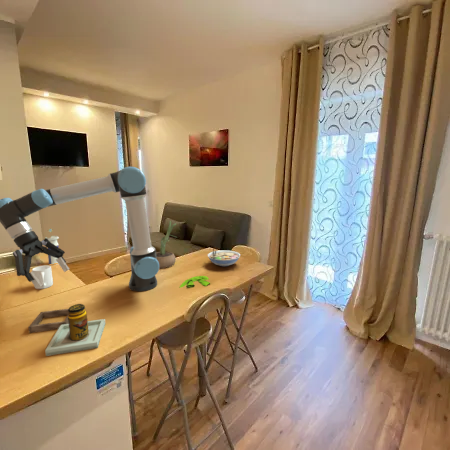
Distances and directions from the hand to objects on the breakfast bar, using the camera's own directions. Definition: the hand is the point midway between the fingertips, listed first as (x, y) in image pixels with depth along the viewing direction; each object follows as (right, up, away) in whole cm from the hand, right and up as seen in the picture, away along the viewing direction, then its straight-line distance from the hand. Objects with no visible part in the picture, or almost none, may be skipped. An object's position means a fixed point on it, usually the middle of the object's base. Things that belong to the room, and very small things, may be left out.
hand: (54, 278), depth 108 cm
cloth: (+55, -12, +40) cm, 69 cm away
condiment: (+16, -20, -11) cm, 28 cm away
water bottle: (-50, -5, +76) cm, 91 cm away
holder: (0, -18, 0) cm, 18 cm away
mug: (-29, -12, +35) cm, 47 cm away
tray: (+16, -20, -11) cm, 28 cm away
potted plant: (+31, -5, +74) cm, 80 cm away
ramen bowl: (+71, -6, +72) cm, 101 cm away
